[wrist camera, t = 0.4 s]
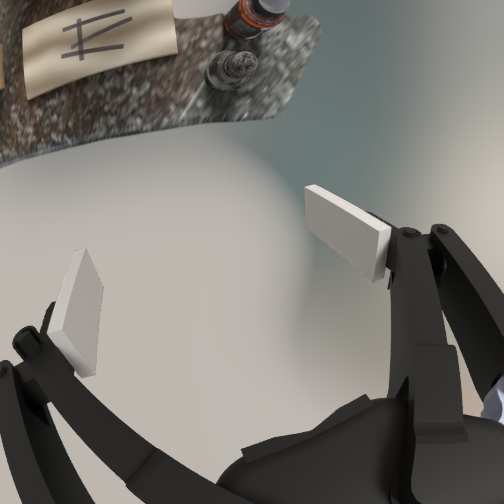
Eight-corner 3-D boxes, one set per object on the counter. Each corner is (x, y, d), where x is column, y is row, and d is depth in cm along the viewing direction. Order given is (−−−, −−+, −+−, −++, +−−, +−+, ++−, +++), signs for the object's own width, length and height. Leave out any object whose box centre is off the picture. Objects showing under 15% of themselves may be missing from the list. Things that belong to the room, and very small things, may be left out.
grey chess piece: (249, 81, 36) (285, 72, 26) (214, 99, 36) (240, 95, 26) (230, 48, 33) (261, 28, 23) (194, 66, 33) (213, 49, 23)
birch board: (25, 31, 19) (22, 29, 18) (169, -14, 25) (170, -17, 24) (30, 100, 26) (27, 99, 25) (176, 54, 31) (177, 52, 30)
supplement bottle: (259, 44, 34) (295, 27, 24) (219, 37, 31) (245, 14, 22) (264, 12, 31) (300, -11, 22) (226, 4, 29) (253, -25, 20)
